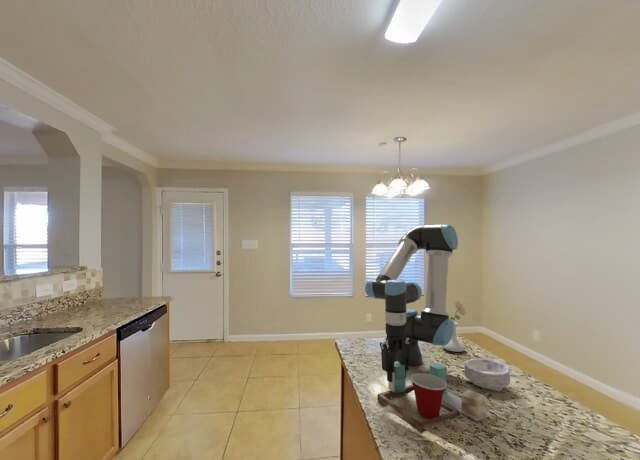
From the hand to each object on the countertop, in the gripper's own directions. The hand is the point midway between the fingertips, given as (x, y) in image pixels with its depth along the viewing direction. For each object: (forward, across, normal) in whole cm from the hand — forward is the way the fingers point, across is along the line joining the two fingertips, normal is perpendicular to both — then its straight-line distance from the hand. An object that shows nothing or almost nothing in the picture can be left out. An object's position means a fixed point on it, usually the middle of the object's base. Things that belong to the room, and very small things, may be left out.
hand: (397, 388), depth 107 cm
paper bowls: (+3, +36, -10) cm, 37 cm away
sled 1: (+2, 0, -9) cm, 9 cm away
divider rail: (+3, +9, -14) cm, 17 cm away
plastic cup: (+3, 0, -15) cm, 15 cm away
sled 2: (+3, +13, -14) cm, 20 cm away
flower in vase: (+3, +58, +23) cm, 63 cm away
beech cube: (+1, +13, -20) cm, 24 cm away
